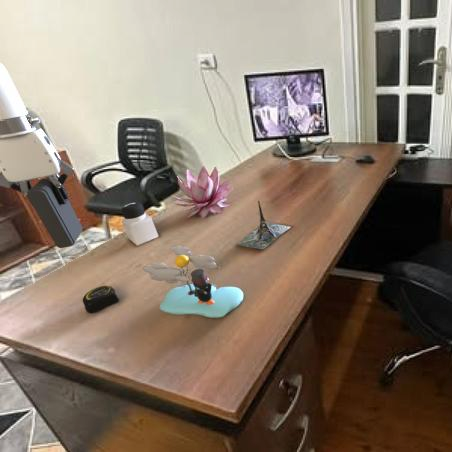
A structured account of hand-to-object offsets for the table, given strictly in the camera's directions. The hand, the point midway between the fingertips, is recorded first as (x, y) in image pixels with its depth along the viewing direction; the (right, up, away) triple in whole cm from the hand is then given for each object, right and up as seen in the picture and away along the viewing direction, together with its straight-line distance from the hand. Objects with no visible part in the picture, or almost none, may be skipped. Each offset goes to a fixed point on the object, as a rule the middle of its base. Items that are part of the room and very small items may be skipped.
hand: (52, 204), depth 82 cm
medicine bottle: (+3, -9, +33) cm, 35 cm away
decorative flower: (+20, 0, +47) cm, 51 cm away
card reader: (+1, -9, +5) cm, 10 cm away
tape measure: (+10, -25, +4) cm, 27 cm away
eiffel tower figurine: (+44, -8, +28) cm, 53 cm away
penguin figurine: (+35, -24, +2) cm, 42 cm away
